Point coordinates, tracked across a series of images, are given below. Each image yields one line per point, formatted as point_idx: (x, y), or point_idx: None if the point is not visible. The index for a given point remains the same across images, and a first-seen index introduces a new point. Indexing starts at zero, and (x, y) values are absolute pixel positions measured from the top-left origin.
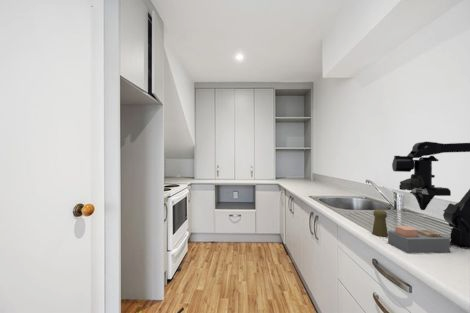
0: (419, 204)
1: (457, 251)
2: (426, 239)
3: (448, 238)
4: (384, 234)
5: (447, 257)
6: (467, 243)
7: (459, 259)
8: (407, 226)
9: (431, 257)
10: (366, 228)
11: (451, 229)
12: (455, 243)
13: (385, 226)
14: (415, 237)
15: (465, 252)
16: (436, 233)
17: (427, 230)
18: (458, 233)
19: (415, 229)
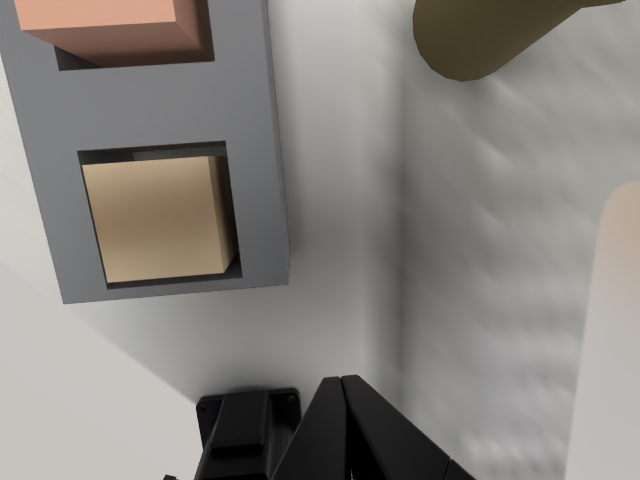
0: (380, 419)
1: (148, 331)
2: (13, 90)
3: (72, 301)
4: (421, 17)
5: (28, 190)
6: (204, 447)
7: (9, 239)
8: (158, 11)
9: (4, 79)
10: (636, 2)
11: (261, 467)
12: (233, 397)
13: (463, 10)
14: None
15: (138, 362)
16: (121, 262)
17: (211, 251)
18: (206, 460)
19: (30, 13)
